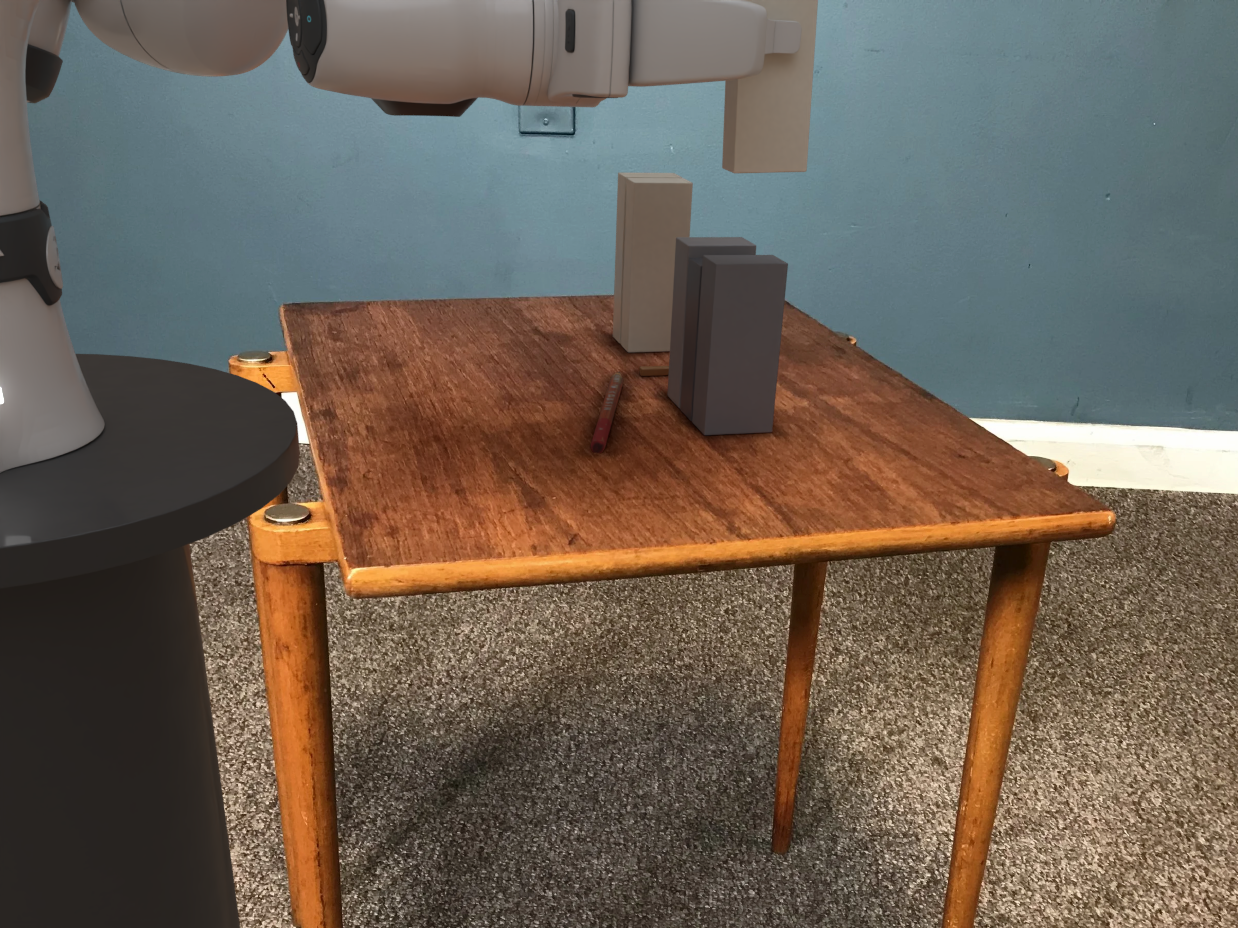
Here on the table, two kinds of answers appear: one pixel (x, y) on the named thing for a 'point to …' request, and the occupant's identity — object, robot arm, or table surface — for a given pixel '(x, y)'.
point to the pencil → (607, 413)
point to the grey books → (726, 334)
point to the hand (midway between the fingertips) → (786, 35)
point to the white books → (648, 259)
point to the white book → (773, 102)
